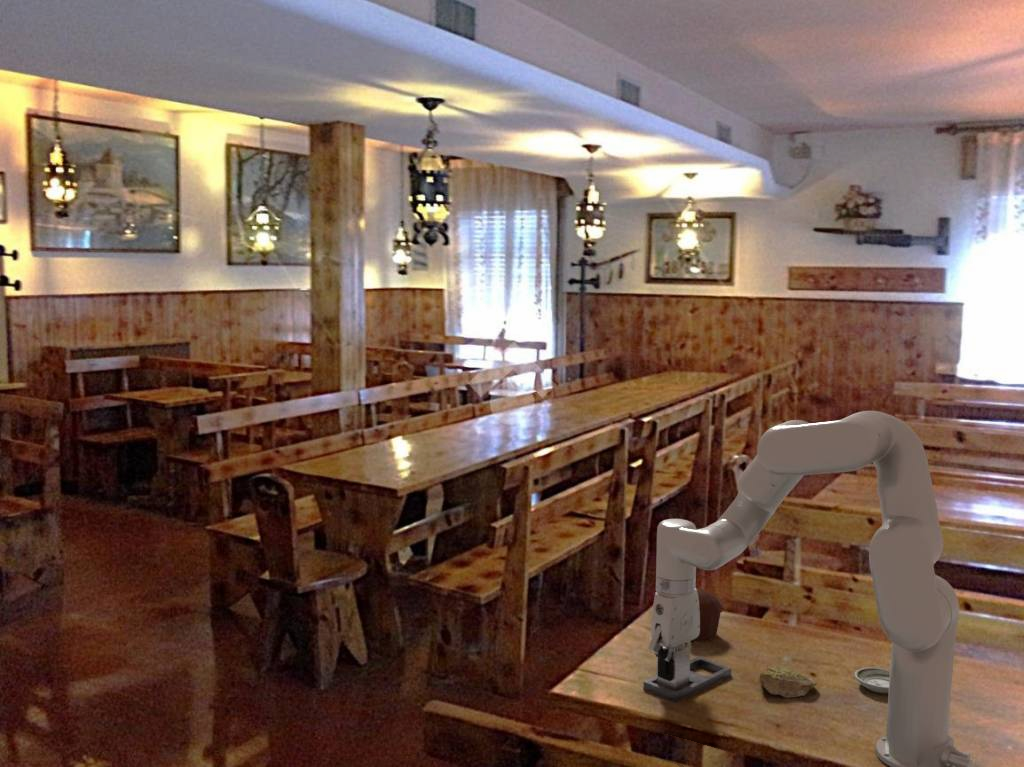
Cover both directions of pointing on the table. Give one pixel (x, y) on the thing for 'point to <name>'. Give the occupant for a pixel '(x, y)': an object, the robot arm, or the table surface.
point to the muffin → (708, 614)
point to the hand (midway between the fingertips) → (673, 673)
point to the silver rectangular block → (677, 669)
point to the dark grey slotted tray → (691, 680)
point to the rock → (786, 682)
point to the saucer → (874, 679)
